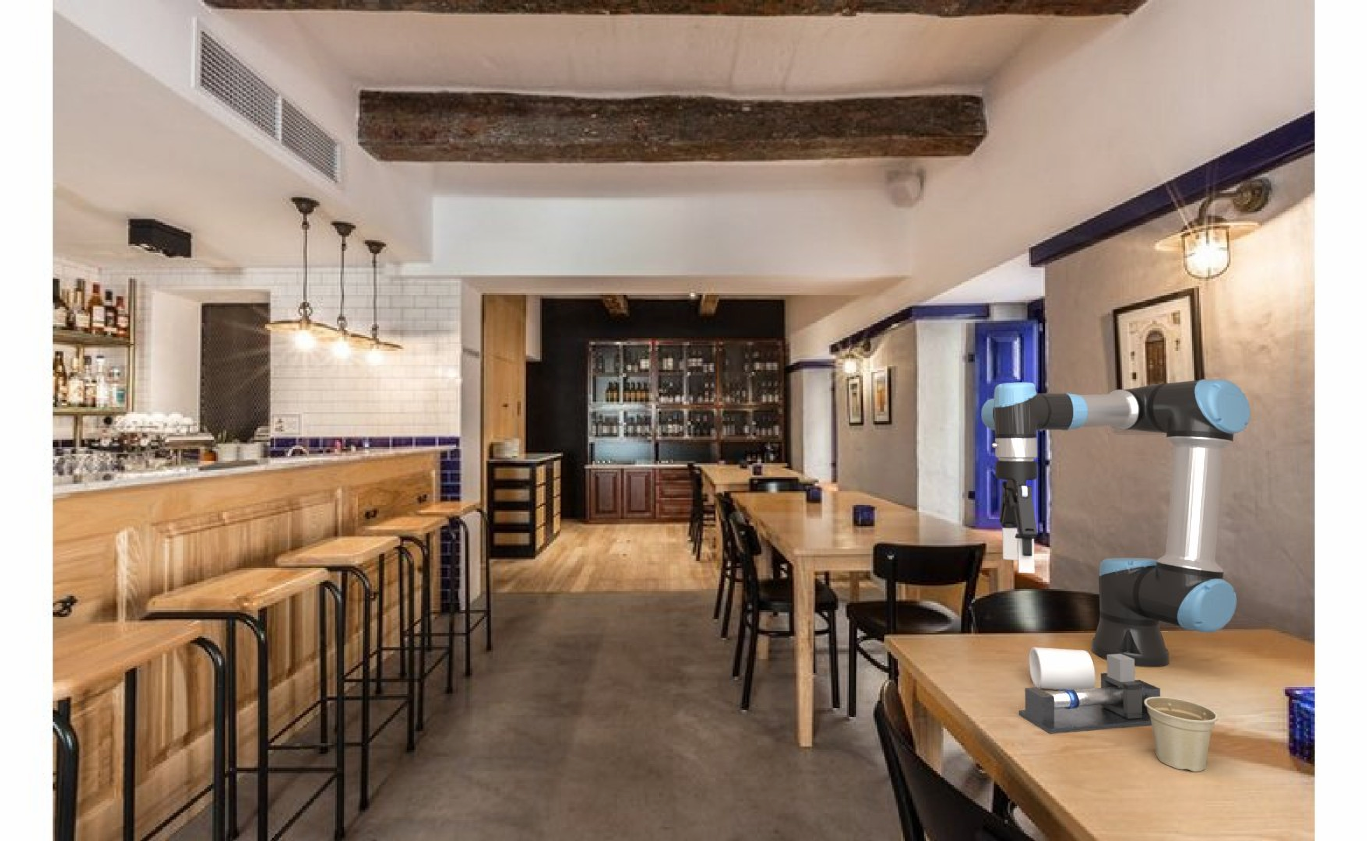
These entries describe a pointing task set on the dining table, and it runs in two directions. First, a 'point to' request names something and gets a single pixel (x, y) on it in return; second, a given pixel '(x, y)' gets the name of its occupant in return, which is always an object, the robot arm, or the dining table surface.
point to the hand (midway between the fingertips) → (1017, 565)
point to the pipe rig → (1081, 709)
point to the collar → (1123, 685)
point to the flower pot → (1181, 731)
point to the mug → (1061, 669)
